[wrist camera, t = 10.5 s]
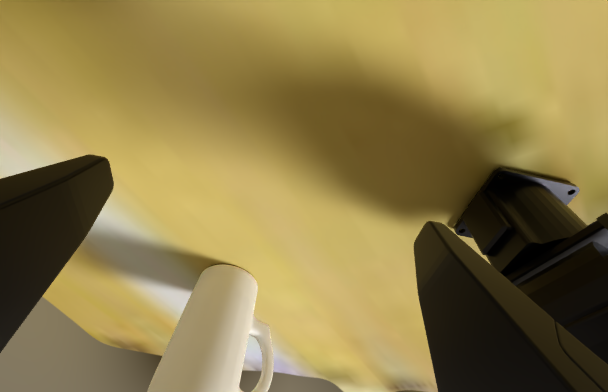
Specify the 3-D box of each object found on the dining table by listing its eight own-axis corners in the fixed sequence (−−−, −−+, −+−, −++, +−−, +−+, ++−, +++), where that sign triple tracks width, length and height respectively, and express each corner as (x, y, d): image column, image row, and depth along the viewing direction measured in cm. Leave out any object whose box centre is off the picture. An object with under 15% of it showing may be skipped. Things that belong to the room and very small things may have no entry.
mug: (187, 285, 33) (128, 414, 23) (214, 252, 29) (157, 387, 20) (265, 319, 36) (242, 447, 26) (298, 293, 32) (285, 429, 23)
